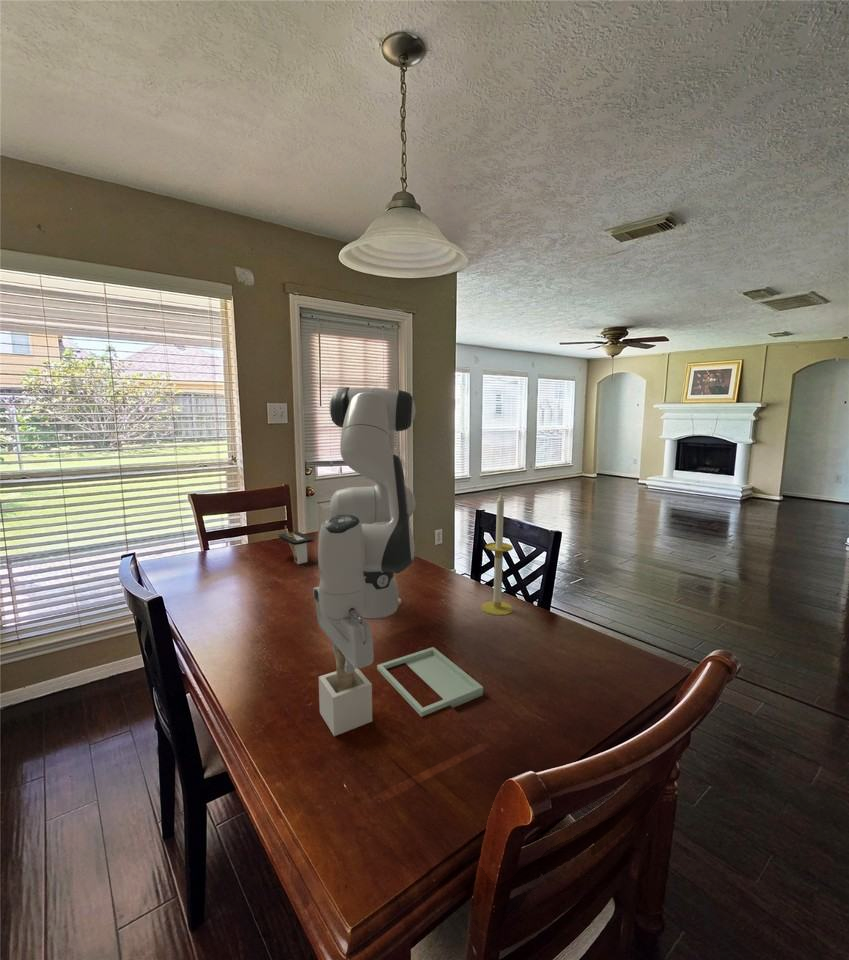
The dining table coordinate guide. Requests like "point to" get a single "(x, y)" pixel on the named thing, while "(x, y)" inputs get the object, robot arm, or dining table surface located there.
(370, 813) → the dining table surface
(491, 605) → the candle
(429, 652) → the tray
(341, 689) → the dowel
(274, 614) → the dining table surface
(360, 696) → the cup
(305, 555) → the architectural model
